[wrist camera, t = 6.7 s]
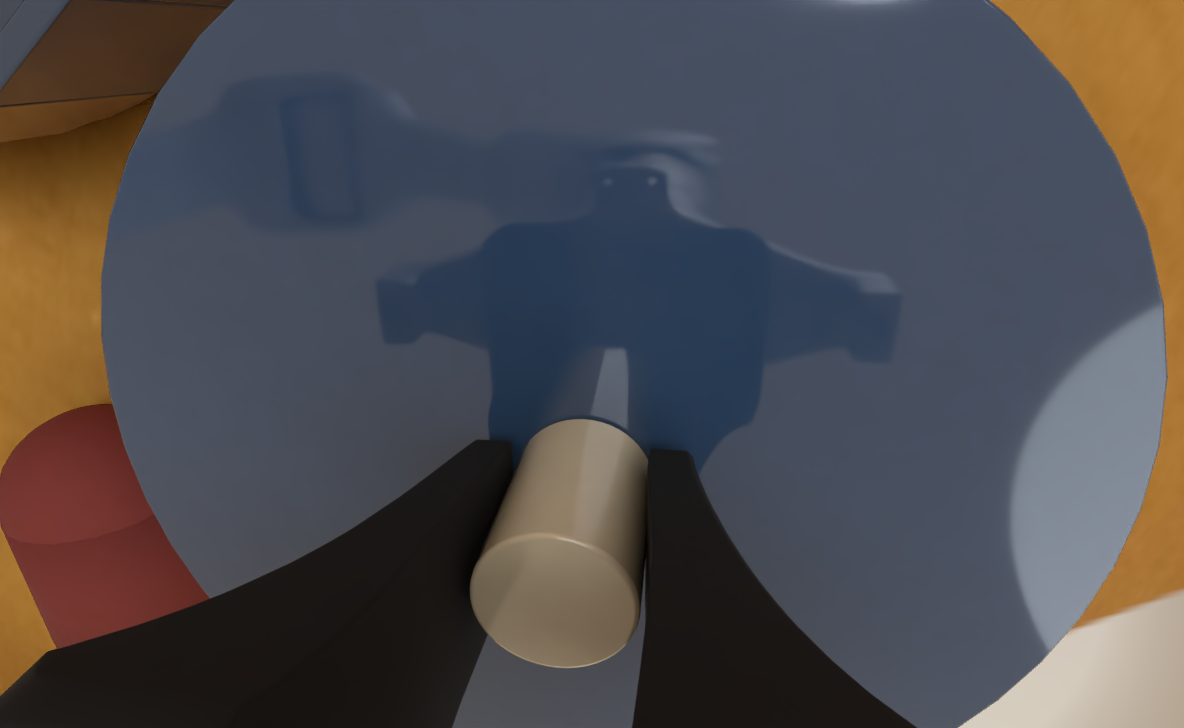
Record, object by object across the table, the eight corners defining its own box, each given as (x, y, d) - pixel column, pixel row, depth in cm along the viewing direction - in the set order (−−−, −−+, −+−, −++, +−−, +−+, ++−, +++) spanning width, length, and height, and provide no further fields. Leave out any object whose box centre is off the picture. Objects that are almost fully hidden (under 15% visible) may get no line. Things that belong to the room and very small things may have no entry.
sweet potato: (151, 594, 23) (37, 710, 19) (71, 372, 19) (-89, 456, 15) (278, 605, 22) (187, 727, 18) (217, 379, 19) (90, 468, 15)
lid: (256, 723, 18) (139, 905, 14) (1, -94, 11) (-387, -171, 7) (992, 806, 16) (1087, 1048, 12) (1322, -161, 8) (1850, -333, 5)
